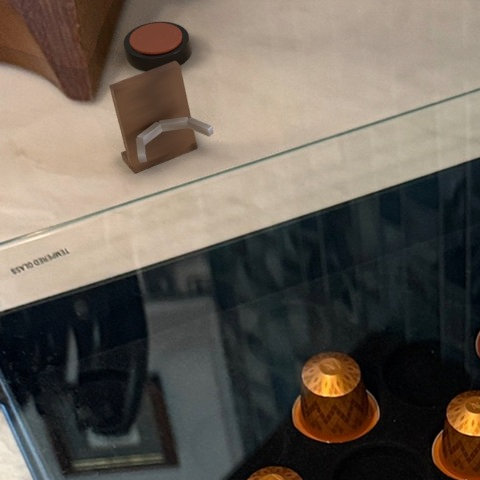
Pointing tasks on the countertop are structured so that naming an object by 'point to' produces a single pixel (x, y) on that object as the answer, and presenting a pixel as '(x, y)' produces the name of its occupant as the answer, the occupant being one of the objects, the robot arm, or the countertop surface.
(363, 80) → the countertop surface
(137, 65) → the hot plate
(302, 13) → the countertop surface
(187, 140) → the brown panel with hook
